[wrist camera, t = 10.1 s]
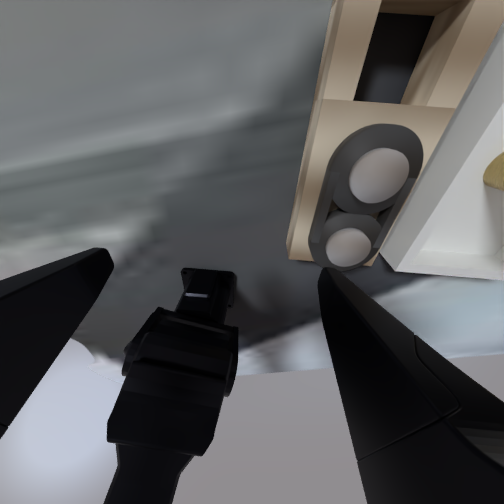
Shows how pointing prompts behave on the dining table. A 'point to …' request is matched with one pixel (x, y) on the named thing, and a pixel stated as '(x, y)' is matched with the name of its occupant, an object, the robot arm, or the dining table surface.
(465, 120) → the tray
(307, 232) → the plate
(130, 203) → the dining table surface
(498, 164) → the lock pin
